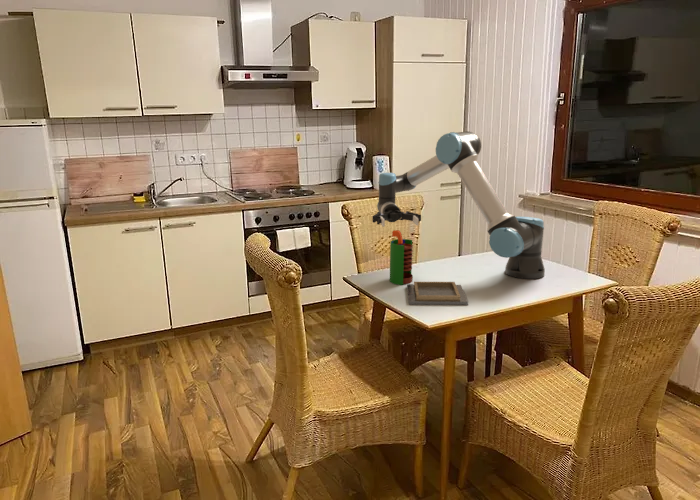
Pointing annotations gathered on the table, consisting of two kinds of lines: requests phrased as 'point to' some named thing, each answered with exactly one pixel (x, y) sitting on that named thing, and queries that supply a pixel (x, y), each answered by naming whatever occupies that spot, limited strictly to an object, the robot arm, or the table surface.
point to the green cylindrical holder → (400, 259)
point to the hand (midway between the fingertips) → (400, 222)
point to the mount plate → (436, 294)
